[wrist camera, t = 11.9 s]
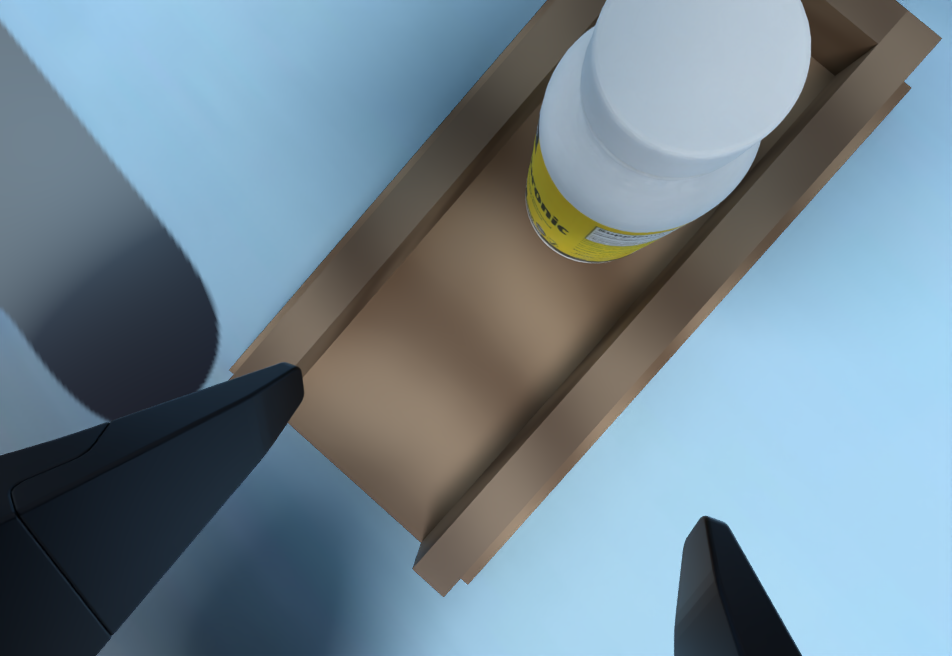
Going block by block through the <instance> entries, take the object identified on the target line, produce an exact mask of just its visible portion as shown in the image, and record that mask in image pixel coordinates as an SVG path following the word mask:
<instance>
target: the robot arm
mask: <svg viewBox="0 0 952 656" xmlns="http://www.w3.org/2000/svg"><path fill="white" fill-rule="evenodd" d="M303 398H304V384H303V376H302V370H301V369H300V367H298V366H296V365H293V364H290V363H287V362H282V363H278V364H275V365H273V366H270V367H267V368H264V369H261V370H258V371H255V372H252V373H249V374H246V375H243V376H241V377H238V378H235V379H232V380H229V381H226V382H223V383H220V384H217V385H214V386H211V387H208V388H206V389H203V390H200V391H197V392H194V393H191V394H188V395H185V396H182V397H179V398H176V399H174V400H171V401H168V402H165V403H162V404H159V405H156V406H153V407H150V408H147V409H144V410H141V411H139V412H136V413H133V414H130V415H127V416H124V417H121V418H118V419H115V420H113V421H111V422H110V423H109V422H106V423H103V424H100V425H97V426H95V427H92V428H89V429H86V430H83V431H80V432H77V433H74V434H70V435H67V436H64V437H61V438H58V439H55V440H52V441H48V442H45V443H42V444H38V445H35V446H32V447H28V448H25V449H21V450H18V451H14V452H11V453H7V454H4V455H0V656H96V655H97V654H98V653H99V651H100V650H101V649H102V648H103V647H104V646H105V644H106V643H107V642H108V641H109V640H110V638H111V635H113V634H114V633H115V632H116V631H117V630H118V629H119V627H120V626H121V625H122V624H123V623H124V622H125V620H126V619H127V618H128V617H129V616H130V614H131V613H132V612H133V611H134V610H135V609H136V607H137V606H138V605H139V604H140V603H141V601H142V600H143V599H144V598H145V597H146V596H147V594H148V593H149V592H150V591H151V590H152V588H153V587H154V586H155V585H156V584H157V583H158V581H159V580H160V579H161V578H162V577H163V575H164V574H165V573H166V572H167V571H168V570H169V568H170V567H171V566H172V565H173V564H174V562H175V561H176V560H177V559H178V558H179V557H180V555H181V554H182V553H183V552H184V551H185V549H186V548H187V547H188V546H189V545H190V544H191V542H192V541H193V540H194V539H195V538H196V536H197V535H198V534H199V533H200V532H201V531H202V529H203V528H204V527H205V526H206V525H207V523H208V522H209V521H210V520H211V519H212V518H213V516H214V515H215V514H216V513H217V512H218V510H219V509H220V508H221V507H222V506H223V505H224V503H225V502H226V501H227V500H228V499H229V497H230V496H231V495H232V494H233V493H234V492H235V490H236V489H237V488H238V487H239V486H240V484H241V483H242V482H243V481H244V480H245V479H246V477H247V476H248V475H249V474H250V473H251V471H252V470H253V469H254V468H255V467H256V466H257V464H258V463H259V462H260V461H261V459H262V458H263V457H264V456H265V454H266V453H267V452H268V450H269V449H270V448H271V446H272V445H273V443H274V442H275V440H276V439H277V438H278V436H279V435H280V433H281V432H282V430H283V429H284V427H285V426H286V424H287V423H288V422H289V420H290V419H291V417H292V416H293V414H294V413H295V411H296V410H297V408H298V407H299V406H300V404H301V402H302V400H303ZM674 656H802V655H801V653H800V651H799V649H798V647H797V646H796V644H795V642H794V640H793V639H792V637H791V635H790V633H789V632H788V630H787V628H786V626H785V625H784V623H783V621H782V619H781V618H780V616H779V614H778V612H777V611H776V609H775V607H774V605H773V603H772V602H771V600H770V598H769V596H768V595H767V593H766V591H765V589H764V588H763V586H762V584H761V582H760V581H759V579H758V577H757V575H756V574H755V572H754V570H753V568H752V566H751V565H750V563H749V561H748V559H747V558H746V556H745V554H744V552H743V551H742V549H741V547H740V545H739V544H738V542H737V540H736V538H735V537H734V535H733V533H732V531H731V529H730V528H729V526H728V525H727V524H726V523H724V522H722V521H720V520H717V519H714V518H711V517H709V516H703V517H701V518H700V519H699V521H698V522H697V524H696V525H695V526H694V528H693V529H692V531H691V532H690V534H689V535H688V537H687V538H686V540H685V543H684V547H683V554H682V563H681V572H680V581H679V590H678V599H677V608H676V617H675V628H674Z"/></svg>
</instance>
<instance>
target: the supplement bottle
mask: <svg viewBox="0 0 952 656" xmlns="http://www.w3.org/2000/svg"><path fill="white" fill-rule="evenodd" d="M810 57H811V35H810V28H809V22H808V19H807V16H806V13H805V10H804V7H803V4H802V2H801V0H606V2H605V4H604V6H603V8H602V10H601V12H600V15H599V17H598V20H597V22H596V25H595V26H594V27H592V28H591V29H589V30H588V31H587V32H586V33H584V34H583V35H582V36H581V37H580V38H579V39H578V40H577V41H576V42H575V43H574V44H573V45H572V46H571V47H570V48H569V49H568V50H567V52H566V53H565V55H564V56H563V57H562V59H561V60H560V62H559V64H558V65H557V67H556V68H555V70H554V72H553V74H552V76H551V78H550V81H549V83H548V86H547V89H546V92H545V95H544V99H543V103H542V106H541V110H540V113H539V120H538V126H537V131H536V136H535V141H534V146H533V151H532V156H531V161H530V166H529V169H528V175H527V181H526V191H525V200H526V208H527V212H528V216H529V219H530V221H531V224H532V226H533V228H534V229H535V231H536V233H537V234H538V236H539V237H540V238H541V240H542V241H543V242H544V243H545V244H546V245H547V246H548V247H549V248H551V249H552V250H553V251H555V252H556V253H558V254H560V255H562V256H564V257H566V258H568V259H571V260H574V261H578V262H583V263H604V262H610V261H614V260H617V259H620V258H623V257H626V256H628V255H630V254H632V253H634V252H636V251H637V250H639V249H641V248H643V247H645V246H647V245H649V244H651V243H653V242H654V241H656V240H658V239H660V238H662V237H664V236H665V235H668V234H669V233H671V232H673V231H675V230H676V229H678V228H680V227H682V226H684V225H686V224H688V223H690V222H692V221H694V220H695V219H697V218H699V217H700V216H702V215H704V214H705V213H707V212H708V211H710V210H711V209H713V208H714V207H715V206H717V205H718V204H719V203H720V202H722V201H723V200H724V199H725V198H726V197H727V196H728V195H729V194H730V193H731V192H732V191H733V190H734V189H735V188H736V187H737V185H738V184H739V183H740V182H741V180H742V179H743V178H744V176H745V175H746V173H747V172H748V170H749V168H750V167H751V165H752V163H753V161H754V159H755V157H756V154H757V151H758V148H759V146H760V142H761V140H762V139H763V138H764V137H766V136H767V135H768V134H769V133H770V132H772V131H773V130H774V129H775V128H776V127H777V126H778V125H779V124H780V123H781V121H782V120H783V119H784V118H785V117H786V116H787V114H788V113H789V112H790V110H791V109H792V107H793V106H794V104H795V103H796V101H797V99H798V97H799V95H800V93H801V92H802V89H803V87H804V84H805V81H806V78H807V74H808V70H809V65H810Z"/></svg>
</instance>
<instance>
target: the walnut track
mask: <svg viewBox="0 0 952 656" xmlns="http://www.w3.org/2000/svg"><path fill="white" fill-rule="evenodd" d="M605 2H606V0H547V1H546V2H545V3H544V4H543V6H542V7H541V8H540V9H539V10H538V11H537V13H536V14H535V15H534V16H533V17H532V18H531V20H530V21H529V22H528V23H527V24H526V25H525V27H524V28H523V29H522V30H521V31H520V32H519V34H518V35H517V36H516V37H515V38H514V39H513V40H512V42H511V43H510V44H509V45H508V46H507V47H506V49H505V50H504V51H503V52H502V53H501V54H500V56H499V57H498V58H497V59H496V60H495V61H494V63H493V64H492V65H491V66H490V67H489V68H488V70H487V71H486V72H485V73H484V74H483V75H482V77H481V78H480V79H479V80H478V81H477V82H476V84H475V85H474V86H473V87H472V88H471V89H470V90H469V92H468V93H467V94H466V95H465V96H464V97H463V99H462V100H461V101H460V102H459V103H458V104H457V106H456V107H455V108H454V109H453V110H452V111H451V113H450V114H449V115H448V116H447V117H446V118H445V120H444V121H443V122H442V123H441V124H440V125H439V127H438V128H437V129H436V130H435V131H434V132H433V134H432V135H431V136H430V137H429V138H428V139H427V140H426V142H425V143H424V144H423V145H422V146H421V147H420V149H419V150H418V151H417V152H416V153H415V154H414V156H413V157H412V158H411V159H410V160H409V161H408V163H407V164H406V165H405V166H404V167H403V168H402V170H401V171H400V172H399V173H398V174H397V175H396V177H395V178H394V179H393V180H392V181H391V182H390V183H389V185H388V186H387V187H386V188H385V189H384V190H383V192H382V193H381V194H380V195H379V196H378V197H377V199H376V200H375V201H374V202H373V203H372V204H371V206H370V207H369V208H368V209H367V210H366V211H365V213H364V214H363V215H362V216H361V217H360V218H359V220H358V221H357V222H356V223H355V224H354V225H353V227H352V228H351V229H350V230H349V231H348V232H347V233H346V235H345V236H344V237H343V238H342V239H341V240H340V242H339V243H338V244H337V245H336V246H335V247H334V249H333V250H332V251H331V252H330V253H329V254H328V256H327V257H326V258H325V259H324V260H323V261H322V263H321V264H320V265H319V266H318V267H317V268H316V270H315V271H314V272H313V273H312V274H311V275H310V277H309V278H308V279H307V280H306V281H305V282H304V283H303V285H302V286H301V287H300V288H299V289H298V290H297V292H296V293H295V294H294V295H293V296H292V297H291V299H290V300H289V301H288V302H287V303H286V304H285V306H284V307H283V308H282V309H281V310H280V311H279V313H278V314H277V315H276V316H275V317H274V318H273V320H272V321H271V322H270V323H269V324H268V325H267V326H266V328H265V329H264V330H263V331H262V332H261V333H260V335H259V336H258V337H257V338H256V339H255V340H254V342H253V343H252V344H251V345H250V346H249V347H248V349H247V350H246V351H245V352H244V353H243V354H242V356H241V357H240V358H239V359H238V360H237V361H236V363H235V364H234V365H233V366H232V367H231V368H230V371H231V372H232V373H233V374H234V375H233V376H232V377H231V378H230V379H229V380H232V379H235V378H238V377H241V376H243V375H246V374H249V373H252V372H255V371H258V370H261V369H264V368H267V367H270V366H273V365H275V364H278V363H282V362H287V363H290V364H293V365H296V366H298V367H300V369H301V370H302V376H303V384H304V398H303V400H302V402H301V404H300V406H299V407H298V408H297V410H296V411H295V413H294V414H293V416H292V417H291V419H290V420H289V422H288V423H289V424H290V425H291V426H292V427H293V428H294V429H295V430H296V431H297V432H299V433H300V434H301V435H302V436H303V437H304V438H305V439H306V440H307V441H309V442H310V443H311V444H312V445H313V446H314V447H315V448H316V449H317V450H319V451H320V452H321V453H322V454H323V455H324V456H325V457H326V458H327V459H329V460H330V461H331V462H332V463H333V464H334V465H335V466H336V467H337V468H339V469H340V470H341V471H342V472H343V473H344V474H345V475H346V476H347V477H349V478H350V479H351V480H352V481H353V482H354V483H355V484H356V485H357V486H359V487H360V488H361V489H362V490H363V491H364V492H365V493H366V494H367V495H369V496H370V497H371V498H372V499H373V500H374V501H375V502H376V503H377V504H379V505H380V506H381V507H382V508H383V509H384V510H385V511H386V512H387V513H389V514H390V515H391V516H392V517H393V518H394V519H395V520H396V521H397V522H399V523H400V524H401V525H402V526H403V527H404V528H405V529H406V530H407V531H409V532H410V533H411V534H412V535H413V536H414V537H415V538H416V539H417V540H419V541H420V542H421V545H420V548H419V551H418V554H417V557H416V560H415V563H414V566H413V568H412V569H413V570H414V571H415V572H416V573H417V574H418V575H419V576H421V577H422V578H423V579H424V580H425V581H426V582H427V583H428V584H429V585H431V586H432V587H433V588H434V589H435V590H436V591H437V592H438V593H439V594H440V595H442V596H443V597H444V596H445V595H446V594H447V593H448V592H449V591H450V590H451V589H452V587H453V586H454V585H455V584H456V583H457V582H458V581H459V580H460V578H461V579H462V580H463V581H464V582H465V583H466V584H469V583H470V582H471V581H472V580H473V578H474V577H475V576H476V575H477V574H478V573H479V572H480V571H481V570H482V568H483V567H484V566H485V565H486V564H487V563H488V562H489V561H490V559H491V558H492V557H493V556H494V555H495V554H496V553H497V552H498V550H499V549H500V548H501V547H502V546H503V545H504V544H505V543H506V542H507V540H508V539H509V538H510V537H511V536H512V535H513V534H514V533H515V531H516V530H517V529H518V528H519V527H520V526H521V525H522V524H523V522H524V521H525V520H526V519H527V518H528V517H529V516H530V515H531V514H532V512H533V511H534V510H535V509H536V508H537V507H538V506H539V505H540V503H541V502H542V501H543V500H544V499H545V498H546V497H547V496H548V494H549V493H550V492H551V491H552V490H553V489H554V488H555V487H556V486H557V484H558V483H559V482H560V481H561V480H562V479H563V478H564V477H565V475H566V474H567V473H568V472H569V471H570V470H571V469H572V468H573V466H574V465H575V464H576V463H577V462H578V461H579V460H580V459H581V458H582V456H583V455H584V454H585V453H586V452H587V451H588V450H589V449H590V447H591V446H592V445H593V444H594V443H595V442H596V441H597V440H598V438H599V437H600V436H601V435H602V434H603V433H604V432H605V431H606V430H607V428H608V427H609V426H610V425H611V424H612V423H613V422H614V421H615V419H616V418H617V417H618V416H619V415H620V414H621V413H622V412H623V410H624V409H625V408H626V407H627V406H628V405H629V404H630V403H631V402H632V400H633V399H634V398H635V397H636V396H637V395H638V394H639V393H640V391H641V390H642V389H643V388H644V387H645V386H646V385H647V384H648V382H649V381H650V380H651V379H652V378H653V377H654V376H655V375H656V374H657V372H658V371H659V370H660V369H661V368H662V367H663V366H664V365H665V363H666V362H667V361H668V360H669V359H670V358H671V357H672V356H673V354H674V353H675V352H676V351H677V350H678V349H679V348H680V347H681V346H682V344H683V343H684V342H685V341H686V340H687V339H688V338H689V337H690V335H691V334H692V333H693V332H694V331H695V330H696V329H697V328H698V326H699V325H700V324H701V323H702V322H703V321H704V320H705V319H706V318H707V316H708V315H709V314H710V313H711V312H712V311H713V310H714V309H715V307H716V306H717V305H718V304H719V303H720V302H721V301H722V300H723V298H724V297H725V296H726V295H727V294H728V293H729V292H730V291H731V290H732V288H733V287H734V286H735V285H736V284H737V283H738V282H739V281H740V279H741V278H742V277H743V276H744V275H745V274H746V273H747V272H748V271H749V269H750V268H751V267H752V266H753V265H754V264H755V263H756V262H757V260H758V259H759V258H760V257H761V256H762V255H763V254H764V253H765V251H766V250H767V249H768V248H769V247H770V246H771V245H772V244H773V243H774V241H775V240H776V239H777V238H778V237H779V236H780V235H781V234H782V232H783V231H784V230H785V229H786V228H787V227H788V226H789V225H790V223H791V222H792V221H793V220H794V219H795V218H796V217H797V216H798V215H799V213H800V212H801V211H802V210H803V209H804V208H805V207H806V206H807V204H808V203H809V202H810V201H811V200H812V199H813V198H814V197H815V195H816V194H817V193H818V192H819V191H820V190H821V189H822V188H823V187H824V185H825V184H826V183H827V182H828V181H829V180H830V179H831V178H832V176H833V175H834V174H835V173H836V172H837V171H838V170H839V169H840V167H841V166H842V165H843V164H844V163H845V162H846V161H847V160H848V159H849V157H850V156H851V155H852V154H853V153H854V152H855V151H856V150H857V148H858V147H859V146H860V145H861V144H862V143H863V142H864V141H865V139H866V138H867V137H868V136H869V135H870V134H871V133H872V132H873V131H874V129H875V128H876V127H877V126H878V125H879V124H880V123H881V122H882V120H883V119H884V118H885V117H886V116H887V115H888V114H889V113H890V111H891V110H892V109H893V108H894V107H895V106H896V105H897V104H898V103H899V101H900V100H901V99H902V98H903V97H904V96H905V95H906V94H907V92H908V91H909V90H910V89H911V87H910V86H909V85H907V84H906V83H905V82H904V81H905V80H906V78H907V77H908V76H909V75H910V74H911V73H912V72H913V71H914V69H915V68H916V67H917V66H918V65H919V64H920V63H921V62H922V61H923V59H924V58H925V57H926V56H927V55H928V54H929V53H930V52H931V50H932V49H933V48H934V47H935V46H936V45H937V44H938V43H939V41H940V40H941V39H942V38H941V37H940V36H939V35H937V34H936V33H935V32H934V31H932V30H931V29H930V28H929V27H928V26H926V25H925V24H924V23H923V22H921V21H920V20H919V19H918V18H917V17H915V16H914V15H913V14H912V13H910V12H909V11H908V10H907V9H906V8H904V7H903V6H902V5H901V4H900V3H898V2H897V1H896V0H801V2H802V4H803V7H804V10H805V13H806V16H807V19H808V22H809V28H810V35H811V57H810V65H809V70H808V74H807V78H806V81H805V84H804V87H803V89H802V92H801V93H800V95H799V97H798V99H797V101H796V103H795V104H794V106H793V107H792V109H791V110H790V112H789V113H788V114H787V116H786V117H785V118H784V119H783V120H782V121H781V123H780V124H779V125H778V126H777V127H776V128H775V129H774V130H773V131H772V132H770V133H769V134H768V135H767V136H766V137H764V138H763V139H762V140H761V142H760V146H759V148H758V151H757V154H756V157H755V159H754V161H753V163H752V165H751V167H750V168H749V170H748V172H747V173H746V175H745V176H744V178H743V179H742V180H741V182H740V183H739V184H738V185H737V187H736V188H735V189H734V190H733V191H732V192H731V193H730V194H729V195H728V196H727V197H726V198H725V199H724V200H723V201H722V202H720V203H719V204H718V205H717V206H715V207H714V208H713V209H711V210H710V211H708V212H707V213H705V214H704V215H702V216H700V217H699V218H697V219H695V220H694V221H692V222H690V223H688V224H686V225H684V226H682V227H680V228H678V229H676V230H675V231H673V232H671V233H669V234H668V235H665V236H664V237H662V238H660V239H658V240H656V241H654V242H653V243H651V244H649V245H647V246H645V247H643V248H641V249H639V250H637V251H636V252H634V253H632V254H630V255H628V256H626V257H623V258H620V259H617V260H614V261H610V262H604V263H583V262H578V261H574V260H571V259H568V258H566V257H564V256H562V255H560V254H558V253H556V252H555V251H553V250H552V249H551V248H549V247H548V246H547V245H546V244H545V243H544V242H543V241H542V240H541V238H540V237H539V236H538V234H537V233H536V231H535V229H534V228H533V226H532V224H531V221H530V219H529V216H528V212H527V208H526V200H525V191H526V181H527V175H528V169H529V166H530V161H531V156H532V151H533V146H534V141H535V136H536V131H537V126H538V120H539V113H540V110H541V106H542V103H543V99H544V95H545V92H546V89H547V86H548V83H549V81H550V78H551V76H552V74H553V72H554V70H555V68H556V67H557V65H558V64H559V62H560V60H561V59H562V57H563V56H564V55H565V53H566V52H567V50H568V49H569V48H570V47H571V46H572V45H573V44H574V43H575V42H576V41H577V40H578V39H579V38H580V37H581V36H582V35H583V34H584V33H586V32H587V31H588V30H589V29H591V28H592V27H594V26H595V25H596V22H597V20H598V17H599V15H600V12H601V10H602V8H603V6H604V4H605ZM229 380H228V381H229Z"/></svg>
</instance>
